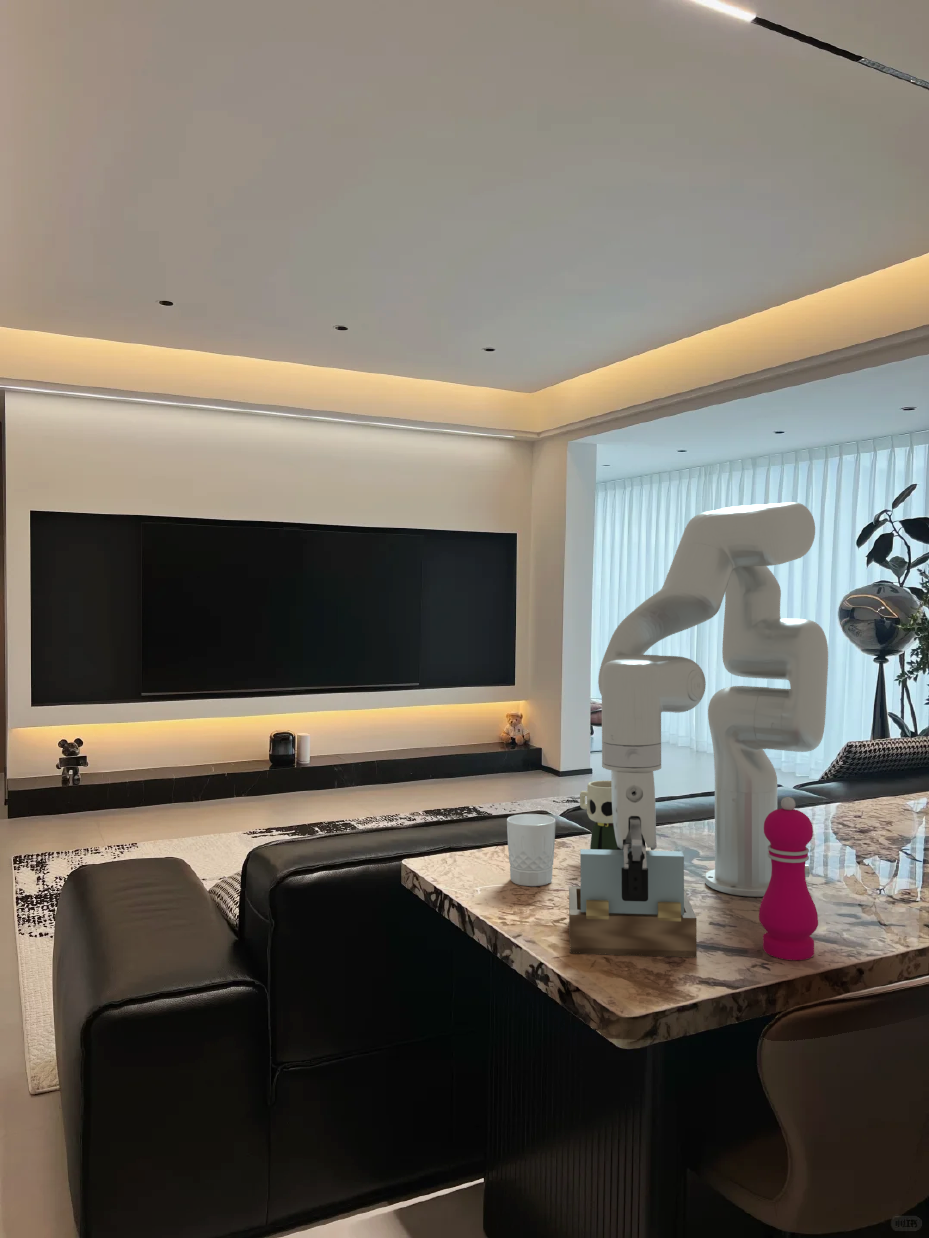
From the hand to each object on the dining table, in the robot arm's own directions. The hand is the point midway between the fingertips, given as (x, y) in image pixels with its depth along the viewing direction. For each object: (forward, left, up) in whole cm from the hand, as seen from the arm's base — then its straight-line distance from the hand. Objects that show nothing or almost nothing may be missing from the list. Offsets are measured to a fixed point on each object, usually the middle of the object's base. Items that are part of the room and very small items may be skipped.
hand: (631, 888), depth 120 cm
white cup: (+14, -30, -8) cm, 34 cm away
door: (0, 0, -3) cm, 3 cm away
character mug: (+1, -45, -8) cm, 46 cm away
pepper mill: (-20, -2, -8) cm, 22 cm away
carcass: (0, -5, -8) cm, 10 cm away
